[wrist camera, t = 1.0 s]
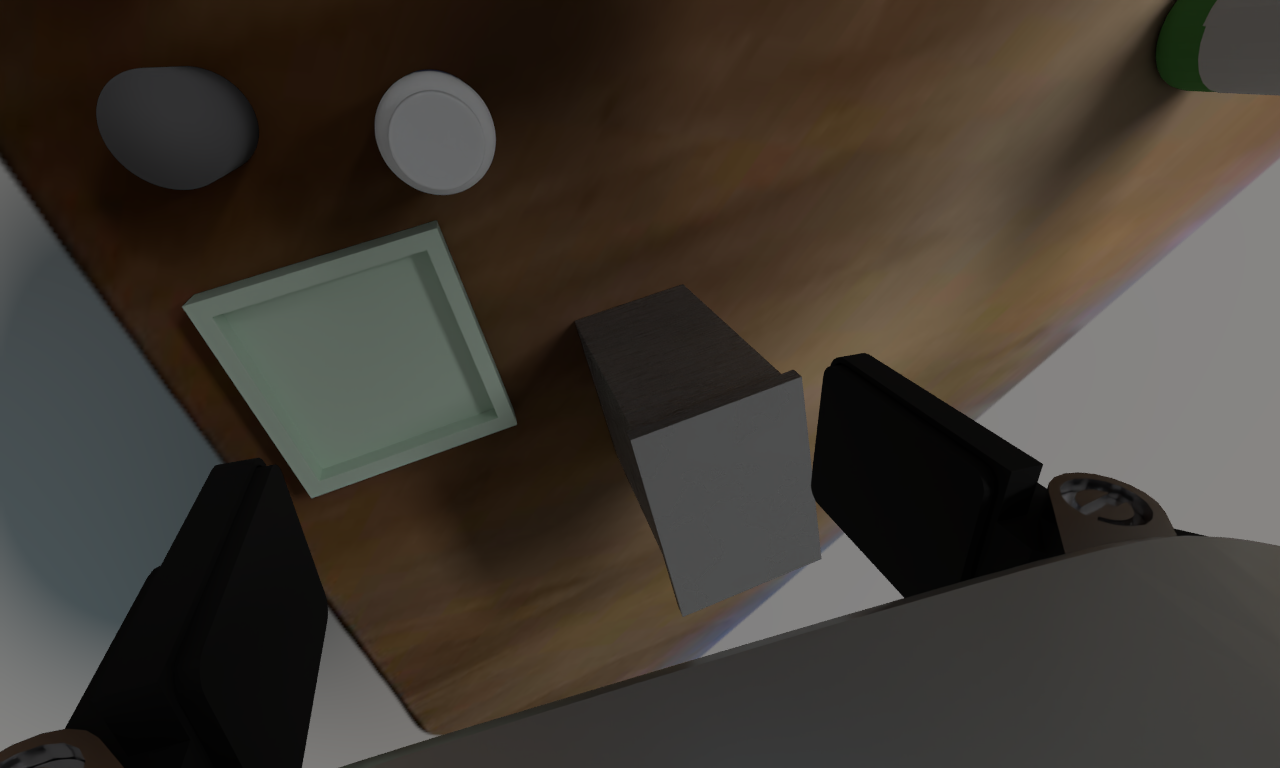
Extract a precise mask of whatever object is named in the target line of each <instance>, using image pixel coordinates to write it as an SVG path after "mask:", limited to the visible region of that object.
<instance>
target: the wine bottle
mask: <svg viewBox="0 0 1280 768" xmlns="http://www.w3.org/2000/svg"><path fill="white" fill-rule="evenodd" d="M1156 64H1157V69H1158V71H1159V74H1160V76H1161V78H1162V79H1163V80H1164V81H1165V82H1166V83H1167V84H1168V85H1170V86H1172V87H1175V88H1178V89H1181V90H1186V91H1203V92H1218V93H1237V94H1259V95H1280V0H1177V1H1176V3H1175V4H1174V6H1173V7H1172V9H1171V10H1170V12H1169V13H1168V15H1167V17H1166V19H1165V22H1164V24H1163V26H1162V28H1161V31H1160V34H1159V38H1158V41H1157V48H1156Z"/></svg>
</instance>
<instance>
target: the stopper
mask: <svg viewBox="0 0 1280 768" xmlns="http://www.w3.org/2000/svg"><path fill="white" fill-rule="evenodd" d="M96 117H97V124H98V127H99V131H100V134H101V136H102V138H103V140H104V142H105V144H106V146H107V147H108V149H109V150H110V152H111V153H112V154H113V156H114V157H115V158H116V159H117V160H118V161H119V162H120V163H121V164H122V165H123V166H124V167H125V168H127V169H128V170H129V171H131V172H132V173H133V174H135V175H136V176H138V177H140V178H141V179H143V180H145V181H147V182H149V183H152V184H155V185H157V186H160V187H164V188H169V189H176V190H190V189H196V188H201V187H203V186H206V185H208V184H210V183H212V182H214V181H216V180H217V179H219V178H221V177H223V176H224V175H226V174H228V173H230V172H231V171H233V170H235V169H237V168H238V167H240V166H242V165H243V164H244V163H246V162H247V161H248V160H249V159H250V158H251V156H252V155H253V153H254V151H255V149H256V147H257V144H258V138H259V127H258V121H257V118H256V115H255V113H254V110H253V108H252V106H251V105H250V103H249V101H248V100H247V98H246V97H245V96H244V95H243V93H242V92H241V91H240V90H239V89H238V88H237V87H236V86H235V85H233V84H232V83H231V82H230V81H228V80H227V79H225V78H224V77H222V76H220V75H218V74H216V73H214V72H212V71H209V70H206V69H203V68H198V67H191V66H179V67H155V68H137V69H132V70H128V71H125V72H122V73H120V74H119V75H117V76H115V77H114V78H112V79H111V80H110V81H109V82H108V83H107V84H106V85H105V86H104V88H103V90H102V91H101V93H100V96H99V98H98V102H97V108H96Z"/></svg>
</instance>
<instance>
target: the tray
mask: <svg viewBox="0 0 1280 768" xmlns="http://www.w3.org/2000/svg"><path fill="white" fill-rule="evenodd" d="M182 307H183V309H184V310H185V312H186V313H187V315H188V316H189V318H190V319H191V321H192V322H193V324H194V325H195V327H196V328H197V330H198V331H199V333H200V334H201V336H202V337H203V339H204V340H205V342H206V343H207V344H208V346H209V347H210V349H211V350H212V352H213V353H214V355H215V356H216V358H217V359H218V361H219V362H220V364H221V365H222V367H223V368H224V370H225V371H226V373H227V374H228V376H229V377H230V379H231V380H232V382H233V383H234V384H235V386H236V387H237V389H238V390H239V392H240V393H241V395H242V396H243V398H244V399H245V401H246V402H247V404H248V405H249V407H250V408H251V410H252V411H253V413H254V414H255V416H256V417H257V419H258V420H259V422H260V423H261V424H262V426H263V427H264V429H265V430H266V432H267V433H268V435H269V436H270V438H271V439H272V441H273V442H274V444H275V445H276V447H277V448H278V450H279V451H280V453H281V454H282V456H283V457H284V459H285V460H286V462H287V463H288V464H289V466H290V467H291V469H292V470H293V472H294V473H295V475H296V476H297V478H298V479H299V481H300V482H301V484H302V485H303V487H304V488H305V490H306V491H307V493H308V494H309V496H310V497H311V498H314V497H317V496H320V495H322V494H325V493H328V492H331V491H333V490H336V489H339V488H342V487H345V486H347V485H350V484H353V483H356V482H359V481H361V480H364V479H367V478H370V477H372V476H375V475H378V474H381V473H384V472H386V471H389V470H392V469H395V468H398V467H400V466H403V465H406V464H409V463H411V462H414V461H417V460H420V459H423V458H425V457H428V456H431V455H434V454H437V453H439V452H442V451H445V450H448V449H451V448H453V447H456V446H459V445H462V444H464V443H467V442H470V441H473V440H476V439H478V438H481V437H484V436H487V435H490V434H492V433H495V432H498V431H501V430H503V429H506V428H509V427H512V426H515V425H517V421H516V416H515V412H514V409H513V406H512V404H511V401H510V399H509V397H508V394H507V392H506V389H505V387H504V384H503V382H502V379H501V377H500V374H499V372H498V369H497V367H496V365H495V362H494V360H493V357H492V355H491V352H490V350H489V347H488V345H487V342H486V340H485V337H484V335H483V333H482V330H481V328H480V325H479V323H478V320H477V318H476V315H475V313H474V310H473V308H472V305H471V303H470V301H469V298H468V296H467V293H466V291H465V288H464V286H463V283H462V281H461V278H460V276H459V273H458V271H457V269H456V266H455V264H454V261H453V259H452V256H451V254H450V251H449V249H448V246H447V244H446V242H445V239H444V237H443V234H442V232H441V229H440V227H439V224H438V222H437V220H435V221H432V222H429V223H426V224H422V225H419V226H416V227H413V228H409V229H406V230H403V231H400V232H396V233H393V234H390V235H387V236H383V237H380V238H377V239H374V240H370V241H367V242H364V243H361V244H357V245H354V246H351V247H348V248H344V249H341V250H338V251H334V252H331V253H328V254H325V255H321V256H318V257H315V258H312V259H308V260H305V261H302V262H299V263H295V264H292V265H289V266H286V267H282V268H279V269H276V270H273V271H269V272H266V273H263V274H260V275H256V276H253V277H250V278H247V279H243V280H240V281H237V282H234V283H230V284H227V285H224V286H220V287H217V288H214V289H211V290H207V291H204V292H201V293H198V294H194V295H193V296H192V297H191V298H190V299H189V300H188V301H187V302H186V303H185V304H184V305H183V306H182Z"/></svg>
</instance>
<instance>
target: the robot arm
mask: <svg viewBox="0 0 1280 768" xmlns="http://www.w3.org/2000/svg"><path fill="white" fill-rule="evenodd" d="M1042 466H1043V464H1042V463H1040V462H1039V461H1037V460H1036V459H1034V458H1033V457H1031V456H1029V455H1028V454H1026V453H1025V452H1023V451H1021V450H1020V449H1018V448H1017V447H1015V446H1013V445H1012V444H1010V443H1009V442H1007V441H1006V440H1004V439H1002V438H1001V437H999V436H998V435H996V434H994V433H993V432H991V431H990V430H988V429H986V428H985V427H983V426H982V425H980V424H978V423H977V422H975V421H974V420H972V419H971V418H969V417H967V416H966V415H964V414H963V413H961V412H959V411H958V410H956V409H955V408H953V407H952V406H950V405H948V404H947V403H945V402H944V401H942V400H940V399H939V398H937V397H936V396H934V395H932V394H931V393H929V392H928V391H926V390H924V389H923V388H921V387H920V386H918V385H917V384H915V383H913V382H912V381H910V380H909V379H907V378H905V377H904V376H902V375H901V374H899V373H897V372H896V371H894V370H893V369H891V368H890V367H888V366H886V365H885V364H883V363H882V362H880V361H878V360H877V359H875V358H874V357H872V356H870V355H869V354H866V353H861V354H855V355H850V356H844V357H838V358H836V359H834V360H833V361H832V363H831V365H830V367H828V368H826V370H825V372H824V376H823V384H822V392H821V401H820V409H819V418H818V426H817V435H816V444H815V452H814V461H813V469H812V478H811V490H812V494H813V497H814V499H815V501H816V502H817V503H818V504H819V505H820V507H821V508H822V509H823V510H824V511H825V512H826V513H827V514H828V515H829V516H830V517H831V519H832V520H833V521H834V522H835V523H836V524H837V525H838V526H839V527H840V528H841V529H842V530H843V532H844V533H845V534H846V535H847V536H848V537H849V538H850V539H851V540H852V541H853V542H854V544H855V545H856V546H857V547H858V548H859V549H860V550H861V551H862V552H863V553H864V554H865V555H866V557H867V558H868V559H869V560H870V561H871V562H872V563H873V564H874V565H875V566H876V567H877V569H878V570H879V571H880V572H881V573H882V574H883V575H884V576H885V577H886V578H887V579H888V581H889V582H890V583H891V584H892V585H893V586H894V587H895V588H896V589H897V590H898V591H899V592H900V594H901V595H902V596H903V597H904V599H900V600H897V601H893V602H890V603H886V604H883V605H880V606H876V607H872V608H869V609H865V610H862V611H859V612H855V613H852V614H848V615H845V616H841V617H838V618H834V619H831V620H827V621H824V622H821V623H818V624H814V625H811V626H807V627H803V628H800V629H797V630H793V631H790V632H786V633H783V634H780V635H776V636H773V637H769V638H766V639H763V640H759V641H756V642H752V643H749V644H746V645H742V646H739V647H735V648H732V649H729V650H725V651H722V652H718V653H715V654H712V655H708V656H705V657H702V658H698V659H695V660H691V661H688V662H685V663H681V664H678V665H674V666H671V667H668V668H664V669H661V670H658V671H654V672H651V673H647V674H644V675H641V676H637V677H634V678H631V679H627V680H624V681H621V682H617V683H614V684H611V685H607V686H604V687H601V688H597V689H594V690H591V691H587V692H584V693H581V694H577V695H574V696H571V697H567V698H564V699H561V700H557V701H554V702H551V703H547V704H544V705H541V706H538V707H534V708H531V709H528V710H524V711H521V712H518V713H514V714H511V715H508V716H504V717H501V718H498V719H494V720H491V721H488V722H484V723H481V724H478V725H474V726H471V727H468V728H464V729H461V730H458V731H454V732H451V733H448V734H445V735H441V736H438V737H435V738H432V739H429V740H425V741H422V742H419V743H416V744H413V745H409V746H406V747H403V748H400V749H397V750H394V751H391V752H387V753H384V754H381V755H378V756H375V757H371V758H368V759H365V760H362V761H358V762H355V763H352V764H349V765H346V766H343V767H340V768H1280V546H1277V545H1272V544H1266V543H1260V542H1255V541H1249V540H1242V539H1234V538H1224V537H1223V538H1222V537H1208V536H1204V535H1199V534H1195V533H1191V532H1186V531H1182V530H1177V529H1174V528H1173V527H1172V524H1171V523H1170V521H1169V519H1168V517H1167V515H1166V513H1165V511H1164V510H1163V509H1162V507H1161V506H1160V505H1159V503H1158V502H1156V501H1155V500H1154V499H1153V498H1151V497H1150V496H1149V495H1147V494H1146V493H1144V492H1142V491H1140V490H1139V489H1137V488H1135V487H1133V486H1131V485H1129V484H1126V483H1124V482H1121V481H1118V480H1115V479H1112V478H1109V477H1104V476H1100V475H1096V474H1088V473H1065V474H1062V475H1059V476H1056V477H1054V478H1053V479H1052V480H1051V481H1050V483H1049V485H1048V488H1047V489H1046V488H1045V487H1043V486H1042V485H1040V484H1039V483H1037V481H1038V478H1039V475H1040V472H1041V469H1042ZM327 619H328V607H327V600H326V596H325V592H324V590H323V587H322V584H321V581H320V578H319V575H318V573H317V570H316V567H315V564H314V561H313V559H312V556H311V553H310V550H309V547H308V544H307V542H306V539H305V536H304V533H303V530H302V528H301V525H300V522H299V519H298V516H297V513H296V511H295V508H294V505H293V502H292V499H291V497H290V494H289V491H288V488H287V485H286V482H285V480H284V477H283V474H282V472H281V469H280V468H279V466H278V465H276V464H275V465H270V466H266V464H265V463H264V461H263V460H262V459H260V458H254V459H249V460H243V461H237V462H231V463H226V464H220V465H216V466H214V468H213V469H212V471H211V472H210V474H209V476H208V478H207V480H206V482H205V484H204V486H203V487H202V489H201V491H200V493H199V495H198V497H197V499H196V501H195V503H194V504H193V506H192V508H191V510H190V512H189V514H188V516H187V518H186V519H185V521H184V523H183V525H182V527H181V529H180V531H179V533H178V535H177V536H176V539H175V540H174V542H173V544H172V546H171V548H170V550H169V551H168V553H167V555H166V557H165V559H164V562H163V563H162V565H161V566H159V567H157V568H155V569H154V570H153V571H152V572H151V574H150V575H149V576H148V578H147V579H146V581H145V583H144V585H143V587H142V588H141V590H140V592H139V594H138V596H137V597H136V600H135V601H134V603H133V605H132V607H131V608H130V610H129V612H128V614H127V616H126V618H125V620H124V621H123V623H122V625H121V627H120V629H119V630H118V632H117V634H116V636H115V638H114V640H113V641H112V643H111V645H110V647H109V649H108V651H107V653H106V654H105V656H104V658H103V660H102V662H101V663H100V665H99V667H98V669H97V671H96V673H95V675H94V676H93V678H92V680H91V682H90V684H89V685H88V688H87V689H86V691H85V693H84V695H83V696H82V698H81V700H80V702H79V704H78V706H77V707H76V710H75V711H74V713H73V715H72V717H71V719H70V720H69V723H68V724H67V726H66V728H65V729H63V730H58V731H53V732H48V733H42V734H39V735H37V736H35V737H32V738H29V739H27V740H24V741H21V742H19V743H16V744H14V745H12V746H10V747H8V748H6V749H4V750H3V751H1V752H0V768H302V763H303V758H304V751H305V746H306V740H307V735H308V729H309V723H310V717H311V711H312V706H313V700H314V694H315V689H316V683H317V677H318V671H319V665H320V659H321V654H322V648H323V642H324V637H325V631H326V624H327Z"/></svg>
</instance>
